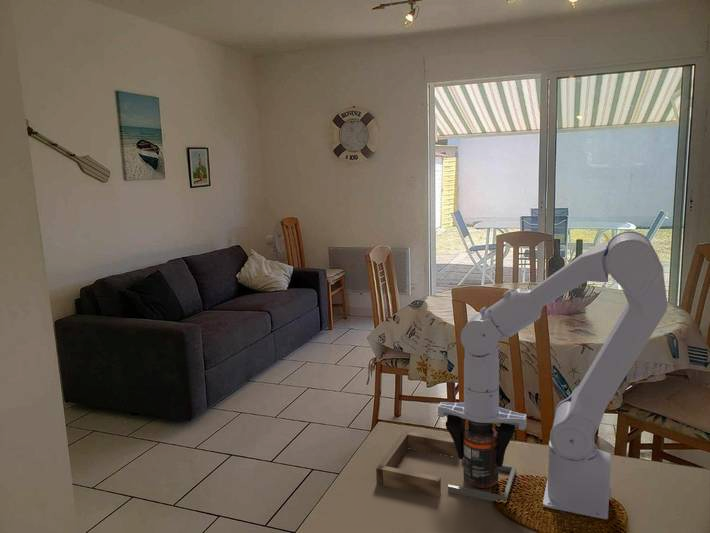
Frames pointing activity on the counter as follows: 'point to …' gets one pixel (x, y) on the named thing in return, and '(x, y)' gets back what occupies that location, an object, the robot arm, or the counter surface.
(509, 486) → the slate bracket
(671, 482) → the counter surface
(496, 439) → the supplement bottle
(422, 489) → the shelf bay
